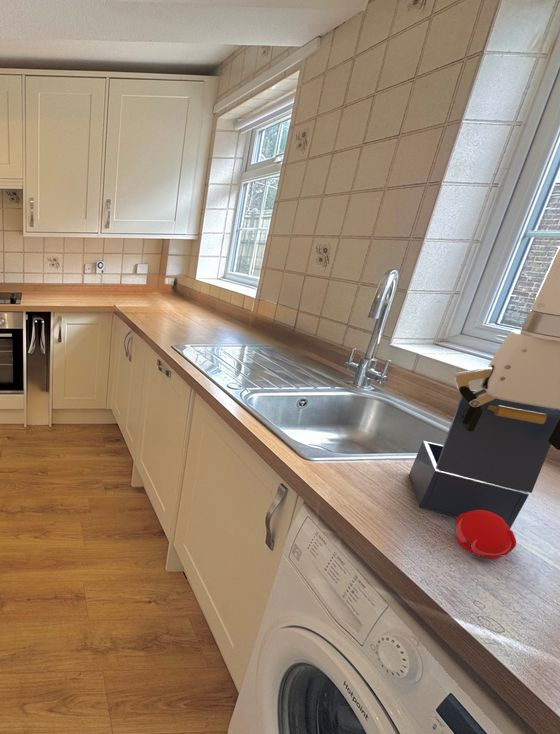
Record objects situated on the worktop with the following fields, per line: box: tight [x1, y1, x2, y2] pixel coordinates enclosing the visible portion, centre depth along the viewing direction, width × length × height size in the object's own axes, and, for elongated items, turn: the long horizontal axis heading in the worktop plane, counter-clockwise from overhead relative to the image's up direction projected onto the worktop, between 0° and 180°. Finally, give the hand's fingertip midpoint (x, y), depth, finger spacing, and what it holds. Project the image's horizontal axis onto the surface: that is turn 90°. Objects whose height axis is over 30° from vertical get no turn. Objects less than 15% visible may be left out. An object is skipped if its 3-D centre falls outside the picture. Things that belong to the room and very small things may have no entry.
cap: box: [455, 510, 517, 559], centre depth 63 cm, size 8×6×6 cm
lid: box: [436, 389, 560, 494], centre depth 64 cm, size 14×11×6 cm
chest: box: [409, 440, 530, 530], centre depth 74 cm, size 13×11×8 cm
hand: (509, 436), depth 63 cm, fingers open, 9 cm apart
